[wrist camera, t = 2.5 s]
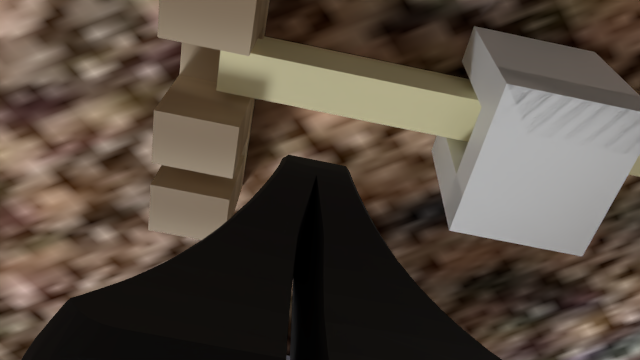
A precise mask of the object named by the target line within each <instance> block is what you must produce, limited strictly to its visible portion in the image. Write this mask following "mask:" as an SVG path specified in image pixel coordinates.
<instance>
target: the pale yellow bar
mask: <svg viewBox="0 0 640 360" xmlns="http://www.w3.org/2000/svg"><path fill="white" fill-rule="evenodd" d="M216 91H221V92H226V93H231V94H236V95H240V96H245V97H250V98H255V99H260V100H265V101H270V102H275V103H280V104H285V105H290V106H294V107H299V108H304V109H309V110H314V111H319V112H324V113H329V114H334V115H339V116H344V117H348V118H353V119H358V120H363V121H368V122H373V123H378V124H383V125H388V126H393V127H398V128H402V129H407V130H412V131H417V132H422V133H427V134H432V135H437V136H442V137H447V138H452V139H456V140H461V141H466V142H469V139H470V137H471V134H472V131H473V129H474V126H475V123H476V121H477V118H478V115H479V113H480V110H481V105H480V102H479V100H478V98H477V95H476V93H475V91H474V89H473V86H472V84H471V82H470V79H466V78H461V77H456V76H452V75H447V74H442V73H437V72H433V71H428V70H423V69H418V68H413V67H409V66H404V65H399V64H394V63H390V62H385V61H380V60H375V59H371V58H366V57H361V56H356V55H351V54H347V53H342V52H337V51H332V50H328V49H323V48H318V47H313V46H308V45H304V44H299V43H294V42H289V41H285V40H280V39H275V38H270V37H266V36H264V38H263V39H259V38H258V39H257V41H256V43H255V45H254V47H253V49H252V51H251V53H250V55H249V56H246V55H241V54H236V53H231V52H226V51H222V50H221V51H220V60H219V69H218V78H217V88H216ZM628 175H633V176H638V177H640V155H639V156H638V158H637V160H636V162H635V163H634V165H633V167H632V169H631V171H630V172H629V174H628Z"/></svg>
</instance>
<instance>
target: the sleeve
mask: <svg viewBox="0 0 640 360" xmlns="http://www.w3.org/2000/svg"><path fill="white" fill-rule="evenodd" d="M462 63H463V65H464V68H465V70H466V72H467V75H468V77H469V79H470V82H471V84H472V86H473V89H474V91H475V93H476V95H477V98H478V100H479V102H480V105H481V110H480V113H479V115H478V118H477V121H476V123H475V126H474V129H473V131H472V134H471V137H470V139H469V142H466V141H461V140H456V139H452V138H447V137H442V136H436V139H435V142H434V145H433V148H432V155H433V160H434V164H435V169H436V173H437V178H438V182H439V187H440V192H441V196H442V201H443V205H444V210H445V214H446V219H447V223H448V228H449V231H454V232H459V233H464V234H469V235H474V236H479V237H485V238H490V239H495V240H500V241H505V242H510V243H515V244H520V245H526V246H531V247H536V248H541V249H546V250H551V251H556V252H561V253H567V254H572V255H577V256H583V254H584V253H585V251H586V249H587V247H588V245H589V244H590V242H591V240H592V238H593V237H594V235H595V233H596V231H597V229H598V228H599V226H600V224H601V222H602V221H603V219H604V217H605V215H606V213H607V212H608V210H609V208H610V206H611V204H612V203H613V201H614V199H615V197H616V196H617V194H618V192H619V190H620V188H621V187H622V185H623V183H624V181H625V180H626V178H627V176H628V174H629V172H630V171H631V169H632V167H633V165H634V163H635V162H636V160H637V158H638V156H639V155H640V95H639V94H638V93H637V92H636V91H635V90H634V89H633V88H632V87H631V86H630V85H628V84H627V83H626V82H625V81H624V80H623V79H622V78H621V77H620V76H619V75H618V74H617V73H616V72H615V71H614V70H613V69H612V68H611V67H610V66H609V65H608V64H607V63H606V62H605V61H604V60H603V59H602V58H601V57H599V56H598V55H597V54H596V53H595V52H593V51H588V50H583V49H579V48H574V47H570V46H565V45H560V44H556V43H551V42H546V41H542V40H537V39H532V38H528V37H523V36H518V35H514V34H509V33H504V32H500V31H495V30H490V29H486V28H481V27H476V26H474V27H473V30H472V33H471V36H470V39H469V42H468V45H467V48H466V51H465V54H464V57H463V60H462Z"/></svg>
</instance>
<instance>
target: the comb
mask: <svg viewBox="0 0 640 360" xmlns="http://www.w3.org/2000/svg"><path fill="white" fill-rule="evenodd" d="M269 2H270V0H159V17H158V37H159V38H164V39H169V40H173V41H178V42H182V48H181V62H180V75H179V76H178V78H177V79H176V80H175V82H174V83H173V85H172V86H171V87H170V89H169V90H168V92H167V93H166V94H165V96H164V97H163V98H162V100H161V101H160V103H159V104H158V105H157V107H156V108H155V110H154V122H153V143H152V163H154V164H159V165H162V166H161V167H160V169H159V171H158V173H157V174H156V176H155V178H154V179H153V181H152V183H151V185H150V206H149V227H148V230H151V231H157V232H162V233H167V234H172V235H178V236H183V237H188V238H193V239H199V240H203V239H204V238H205V237H207V236H208V235H210V234H211V233H212V232H214V231H215V230H216V229H218V228H219V227H220V226H222V225H223V224H224V223H225V222H227V221H228V220H229V219H230V218H231V217H232V216H233V214H234V210H235V207H236V204H237V201H238V198H239V195H240V192H241V189H242V185H243V178H244V171H245V165H246V158H247V151H248V144H249V137H250V131H251V124H252V117H253V110H254V104H255V98H250V97H245V96H240V95H236V94H231V93H226V92H221V91H216V88H217V78H218V69H219V60H220V51H221V50H222V51H226V52H231V53H236V54H241V55H246V56H249V55H250V53H251V51H252V49H253V47H254V45H255V43H256V41H257V39H258V38H259V39H263V38H264V36H265V29H266V22H267V16H268V9H269Z"/></svg>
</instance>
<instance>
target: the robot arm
mask: <svg viewBox="0 0 640 360" xmlns="http://www.w3.org/2000/svg"><path fill="white" fill-rule="evenodd" d="M293 277H294V280H293ZM292 280H293V301H292V323H291V347H290V356H288V355H286V351H287V335H288V321H289V309H290V298H291V288H292ZM22 360H502V359H500V358H499V357H497V356H496V355H494V354H493V353H492V352H490V351H489V350H488V349H486V348H485V347H484V346H482V345H481V344H480V343H479V342H478V341H476V340H475V339H474V338H473V337H472V336H470V335H469V334H468V333H467V332H466V331H464V330H463V329H462V328H461V327H460V326H458V325H457V324H456V323H455V322H454V321H453V320H452V319H451V318H450V317H448V316H447V315H446V314H445V313H444V312H443V311H442V310H441V309H440V308H439V307H438V306H437V305H436V304H435V303H434V302H433V301H432V300H431V299H430V298H429V297H428V296H427V295H426V294H425V293H424V292H423V290H422V289H421V288H420V287H419V286H418V285H417V284H416V283H415V282H414V280H413V279H412V278H411V277H410V275H409V274H408V273H407V272H406V271H405V269H404V268H403V267H402V266H401V264H400V263H399V262H398V261H397V259H396V258H395V256H394V255H393V254H392V252H391V251H390V249H389V248H388V246H387V244H386V243H385V241H384V240H383V238H382V237H381V235H380V233H379V232H378V230H377V228H376V227H375V225H374V223H373V221H372V219H371V217H370V216H369V214H368V212H367V210H366V208H365V206H364V204H363V202H362V200H361V198H360V196H359V194H358V192H357V189H356V187H355V185H354V182H353V180H352V177H351V175H350V172H349V170H348V169H347V167H346V166H342V165H337V164H332V163H327V162H322V161H317V160H312V159H307V158H302V157H297V156H292V155H288V156H286V157H284V158H283V159H282V161H281V163H280V165H279V166H278V168H277V169H276V171H275V172H274V173H273V175H272V176H271V177H270V178H269V180H268V181H267V182H266V183H265V184H264V186H263V187H262V188H261V189H260V190H259V191H258V192H257V193H256V194H255V195H254V196H253V198H252V199H251V200H250V201H249V202H248V203H247V204H245V205H244V206H243V207H242V208H241V209H240V210H239V211H238V212H237V213H236V214H234V215H233V216H232V217H231V218H230V219H229V220H228V221H227V222H225V223H224V224H223V225H222V226H220V227H219V228H218V229H216V230H215V231H214V232H212V233H211V234H210V235H208V236H207V237H205V238H204V239H203V240H201V241H200V242H198V243H197V244H195V245H193V246H192V247H190V248H189V249H187V250H185V251H184V252H182V253H180V254H179V255H177V256H175V257H174V258H172V259H170V260H168V261H166V262H164V263H163V264H161V265H158V266H156V267H154V268H152V269H150V270H148V271H146V272H143V273H141V274H139V275H136V276H134V277H132V278H129V279H127V280H124V281H121V282H119V283H116V284H113V285H110V286H107V287H104V288H101V289H98V290H95V291H92V292H89V293H86V294H83V295H80V296H76V297H73V298H70V299H69V300H68V301H67V302H66V303H65V304H64V305H63V306H62V307H61V309H60V310H59V311H58V312H57V313H56V314H55V316H54V317H53V318H52V319H51V320H50V321H49V323H48V324H47V325H46V326H45V328H44V329H43V330H42V331H41V332H40V333H39V335H38V336H37V337H36V338H35V340H34V341H33V343H32V344H31V346H30V347H29V348H28V350H27V351H26V353H25V355H24V356H23V358H22Z"/></svg>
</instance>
